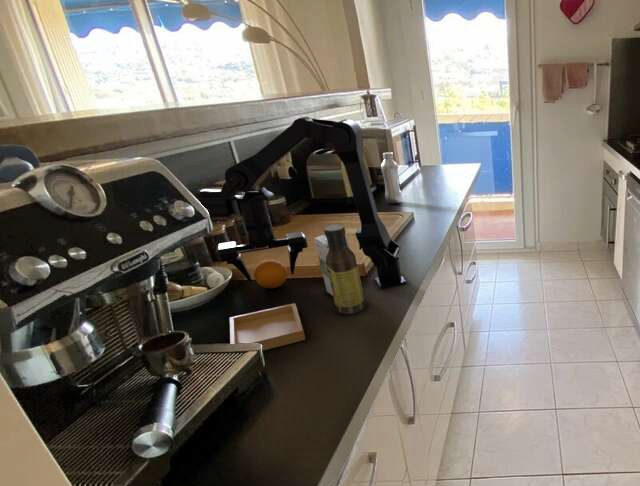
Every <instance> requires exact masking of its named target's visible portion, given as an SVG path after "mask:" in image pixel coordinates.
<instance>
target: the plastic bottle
mask: <svg viewBox="0 0 640 486" xmlns="http://www.w3.org/2000/svg"><path fill="white" fill-rule="evenodd" d="M382 158H383V161H382V162H381V163H380V169H381V170H380V171H381V174H382V177H383V182H384V188H385V189H384V191H385V193H384V199H385V201H386V202H387V203H388V204H399V203H401V202H402V200H403V195H402V191H401V187H400V183H399V166H398V163H397V162H396V161H395V159H394V153H393V152H388V151H387V152H383V153H382Z"/></svg>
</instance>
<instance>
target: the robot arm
mask: <svg viewBox="0 0 640 486" xmlns="http://www.w3.org/2000/svg"><path fill="white" fill-rule="evenodd" d="M307 139H311V140H316V141H318V142H321V143H327V144H331V146H332V148H333V150H334V152H335V154H336V155H337V157H338V159H339V160H340V161H341V162H342V164H343V166H344V170H345V173H346V176H347V180H348V184H349V186H350V190H351V193H352V197H353V201H354V203H355V208H356V211H357V214H358V217H359V220H360V226H359V228H358V229H357V230H356V232H355V237H356V239H357V242H358V244H359V247H358V249H359V250H360V251H361V250H362V253H363V254H364V255H365V257H367V258H369V259H370V260H371V262H372V264H373V265H374V267H376V273H377V277H374V281H375V282H376V283H377V285H378V286H379V288H380V289H386V288H390V287H395V286H399V285H403V284H406V283H407V280H406V279H405V278H404V276H402V271H401V264H400V263H401V262H400V258H399V257H398V256H399V254H400V250H401V245H400V244H399V243H397V242H395V241H394V240H393V239H392V238H391V236H390V234H389V232H388V230H387V227H386V225H385V224H384V223H383V221H382V220H381V218H380V216H379V212H378V210H377V206H376V202H375V198H374V195H373V191H372V188H371V183H370V180H369V176H368V172H367V169H366V166H365V162H364V138H363V130H362V128H361V126H360V125H359V123H357V122H356V121H354V120H352V119H346V118H345V119H341V120H339V121H337V120H328V119H320V118H312V117H310V116H302V117H298V118H295V119H294V120H293V122H292V123H291V124H290V125H289V126H288V127H287V128H286V129H284V130H283V131H282V132H281V133H280V134H278V135H277V136H276V137H275V138H273V139H272V140H271V141H270V142H269V143H268V144H266V145H265V146H264V147H262V148H261V149H260V150H259V151H258V152H256V153H255V154H253V155H251V156H250V157H248V158H246V159H244V160H241V161H239V162H238V163H235V164H233V165H231V166H230V167H228V168H227V169H225V171H224V180H225V182H224V183H223V184H222V185H223V186H222V187H221V189H211V188H204V189H202V190H199V191H198V192H199V196H200V197H199V199H198V202H199V201H200V202H201V204H202V205H203V206H204V207H205V208H206V209H207V210H208V212H209V214H210V218H211V219H210V220H234V219H236V217H237V216H238V215H240V218H241V223H237V224H236V226H237V229H238V234H239V236H240V238H245V237H246V239H247V243H246V244H238V245H237V242H236V241H228V242H221V243H218V244H217V246H216V256H217V259H218V262H219V263H223V262H225V263H226V265H233V266H234V267H235V268H236V269H237V270H238V271H239V272H240V273H241V274H242V275H243V276H244V277H245V278H246V280H247V281H248V282H249V283H251V284H252V283H253V280H252V276H251V274H250V272H249V269H248V267H247V264H246V263H245V261H244V257H243V256H242V254H247V253H252V252H259V251H264V250H270V249H276V248H277V249H278V248H282V247H287V253H288V261H289V263H288V264H289V270H290V274H291V275H292V276H293V275H294V274H295V268H296V262H297V259H298V257H299V253H302V252H304V249H306V248H308V247H309V245H308V242H307V238H306V235H305V234H304V232H303V231H295V232H289V233H286V234H285V235H286V237H283V238H278V239H276V236H275V232H274V228H273V225H272V220H271V217H270V213H269V209H268V205H267V201H268V200H270V199H272V198H274V197H275V194H274V193H273V192H271V191H269V190H267V188H266V187H262V188H260V189H259V190H258V191H256V190H255V191H251V190H252V189H254V188H255V187H256V188H257V186H259V185H261V184H262V182H264V180H265V179H266V178H267V176H268V175H269V174H270V173H271V170H272V168H273V167H274V166H275V165H276V164H278V163H279V162H280V161H281V160H283V158H285V157H287V155H289V154H290V153H291V152H292V151H293V150H295V149H296V148H297V147H298V146H299V145H301V144H302V143H303V142H305V141H306V140H307ZM239 193H244V194H239Z"/></svg>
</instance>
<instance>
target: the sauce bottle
mask: <svg viewBox="0 0 640 486" xmlns="http://www.w3.org/2000/svg"><path fill="white" fill-rule="evenodd" d="M323 233H324V235H325V236H326V237H327V241H328V247H329V251H328V253H327V255H326V266H327V271H328V275H329V279H330V284H331V288H332V292H333V296H332V297H333V301H334V304H335V307H336V310H337V312H338V313H340V314H343V315H353V314H358V313H360V312H361V311H363V309H365V297H364V296H365V295H364V291H363V286H362V281H361V277H360V270H359V266H358V263H357V258H356V254H355V253H354V251H353V250H352V249H351V248H350V247H349V248H348V246H347V242H346V238H347V237H346V228H345V226H344V225H343V224H331V225H327V226H324V228H323Z"/></svg>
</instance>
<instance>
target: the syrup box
mask: <svg viewBox="0 0 640 486" xmlns="http://www.w3.org/2000/svg"><path fill="white" fill-rule="evenodd" d="M313 240H314V244H315V249H316V252H317V253H316V254H317V256H318V261H319V265H320V270H321V273H322V278H323V282H324V286H325V291H326V293H327V294H329V295H330V296H332V297H333V292H332V288H331V284H330V279H329V275H328V271H327V266H326V255H327V253H328V251H329V247H328V241H327V237H326V236H325V234H322V235H319V236H317V237H314V238H313ZM346 242H347V246H348V248H349V249H350V245H349V240H348V237H346Z"/></svg>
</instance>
